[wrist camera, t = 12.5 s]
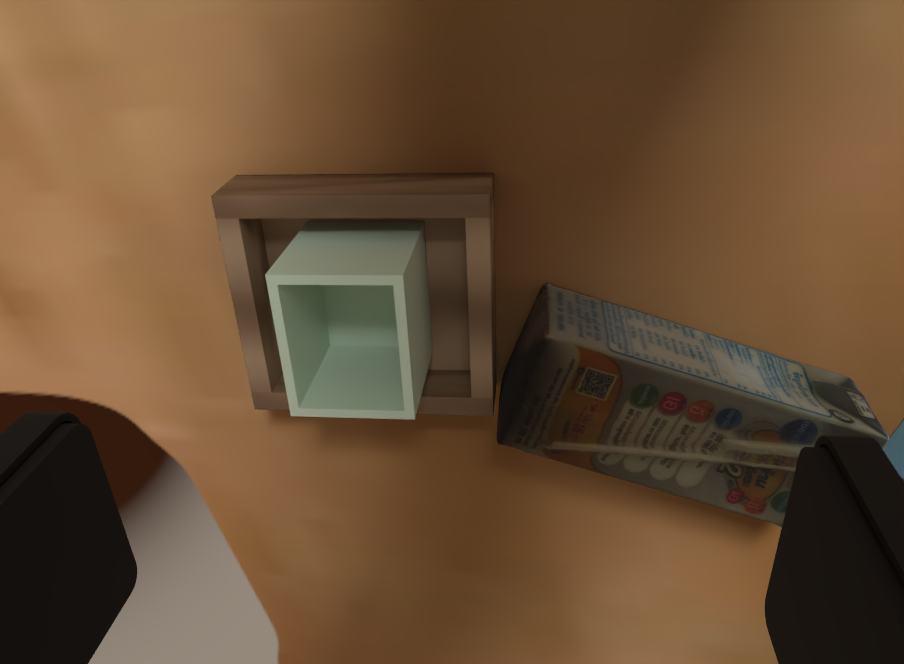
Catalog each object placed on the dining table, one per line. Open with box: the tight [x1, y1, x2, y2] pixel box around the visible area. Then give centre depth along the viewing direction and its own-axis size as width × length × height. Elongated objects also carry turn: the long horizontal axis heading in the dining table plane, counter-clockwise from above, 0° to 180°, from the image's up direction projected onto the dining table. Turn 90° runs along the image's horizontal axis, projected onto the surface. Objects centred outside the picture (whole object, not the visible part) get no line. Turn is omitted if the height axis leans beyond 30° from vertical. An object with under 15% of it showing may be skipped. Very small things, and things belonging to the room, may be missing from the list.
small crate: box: [265, 221, 433, 420], centre depth 39 cm, size 8×6×7 cm
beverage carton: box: [497, 283, 889, 527], centre depth 41 cm, size 8×19×7 cm, turn 74°
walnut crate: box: [211, 173, 497, 416], centre depth 41 cm, size 13×14×4 cm
